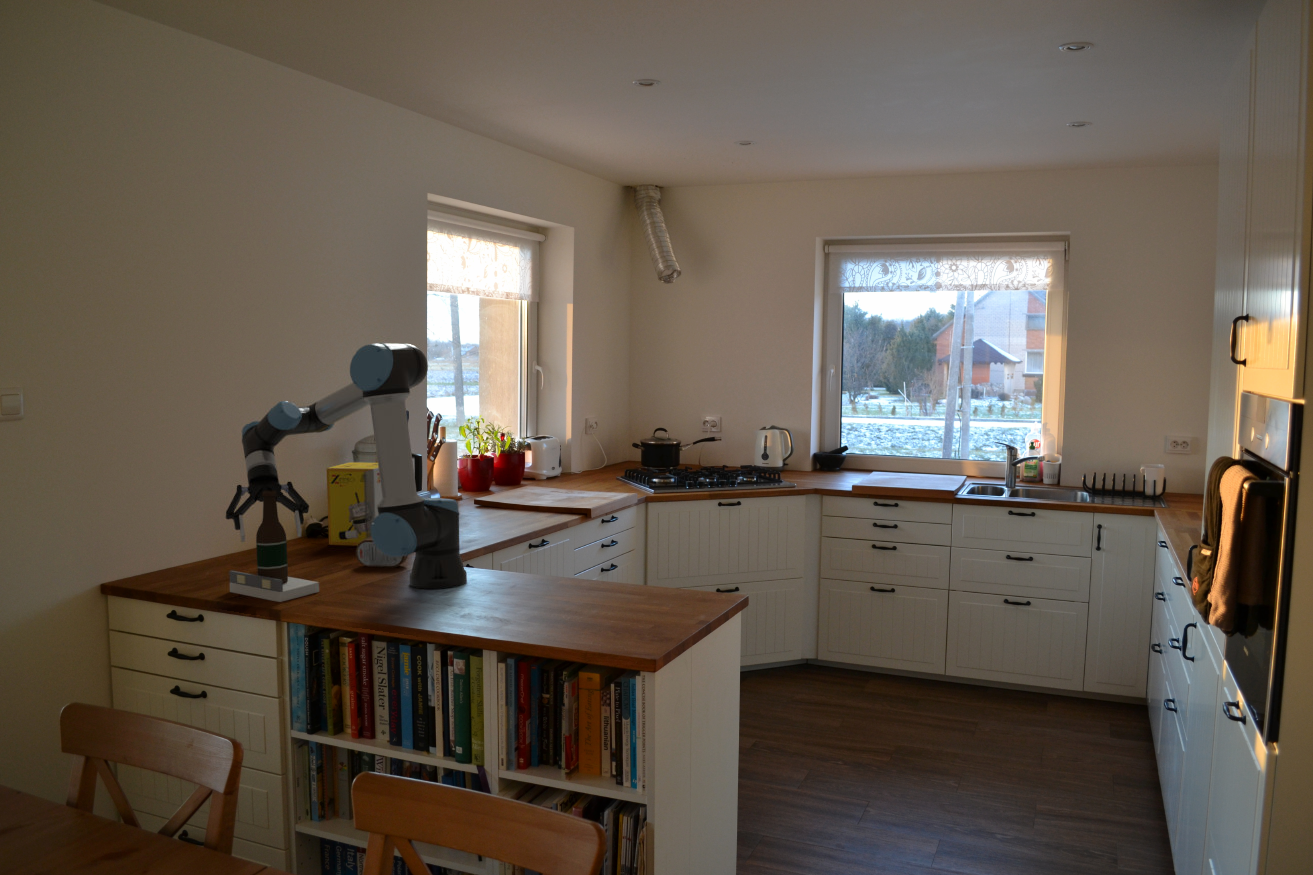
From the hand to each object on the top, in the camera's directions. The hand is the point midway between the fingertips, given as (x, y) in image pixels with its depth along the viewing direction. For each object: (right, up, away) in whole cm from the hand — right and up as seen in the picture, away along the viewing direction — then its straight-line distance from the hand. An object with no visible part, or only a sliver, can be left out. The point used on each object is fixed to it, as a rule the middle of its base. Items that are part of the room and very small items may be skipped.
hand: (271, 536), depth 248 cm
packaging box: (+2, -9, +71) cm, 71 cm away
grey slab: (-1, -15, +4) cm, 15 cm away
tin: (+19, -12, +33) cm, 40 cm away
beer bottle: (-1, -13, +3) cm, 13 cm away
